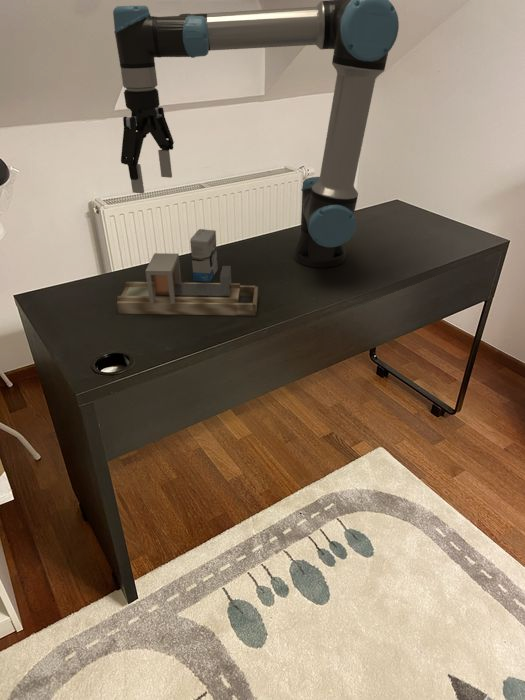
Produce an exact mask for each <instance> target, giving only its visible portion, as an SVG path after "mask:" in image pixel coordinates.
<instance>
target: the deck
mask: <svg viewBox="0 0 525 700" xmlns="http://www.w3.org/2000/svg"><path fill="white" fill-rule="evenodd" d="M124 284H125V287H124V289H123V291H122V293H121V295H117V297H116V299H117V302H116V305H117V312H118V314H123V315H124V314H125V315H126V314H130V315H140V314H141V315H179V316H180V315H186V316H188V315H190V316H197V315H198V316H245V317H247V316H248V317H249V316H250V317H251V316H252V317H253V316H254V317H255V316H257V311H258V310H257V308H258V300H259V286H258V285H241V283H239V282H238V283H237V282H236V283H235V282H231V284H232V289H231V294H230V298H226V297H175V304H171V303H170V297H161V296H155V294H156V293H155V286H154V281H152V285H153V293H154V300H155V302H154V303H150V300H149V293H148V286H147V281H125V283H124ZM175 284H220V282H181V283H178V282H175Z"/></svg>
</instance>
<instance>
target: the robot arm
mask: <svg viewBox="0 0 525 700" xmlns="http://www.w3.org/2000/svg"><path fill="white" fill-rule="evenodd" d="M149 10H150V9H149V7H148V6H146V5H119V6H116V7H114V9H113V11H112V12H113V13H112V14H113V27H114V34H115V42H116V49H117V54H118V60H119V67H120V71H121V72H120V73H121V81H122V87H123V88H125V90H124V92H123V94H124V96H123V97H124V100H125V101H124V102H125V107H126V108H127V109H128V110H130V112H131V116H123V117H122V121H123V123H122V124H123V133H122V146H121V154H120V162H121V164H123V165H127V167H128V172H129V173H128V174H129V179H130V182H131V183H130V184H131V190H132V193H134V194H144V193H145V187H144V181H143V173H142V166H141V164H140V163H139V160H140V157H141V156H140V155H141V153H142V147H143V142H144V140H145V138H146V137H147V135H149V134H150V135H151V137H152V138H153V139H154V141H155V143H156V144H157V146H158V147H159V149H158V150H157V151H158V152H157V153H158V161H159V167H160V176H161V177H162V178H170V179H171V178H172V177H173V172H172V164H171V155H170V151H171V150H174V143H175V141H174V139H173V136H172V134H171V131H170V128H169V124H168V123H167V120H166V118H165V117H166V116H165V112H164V111H165V110H164V108H163V107H160V104H161V103H160V95H159V90H158V89H157V88H156V87H157V86H158V78H157V77H158V76H157V70H156V62H155V58H199V57H206V56H207V55H209V52H210V51H226V50H227V51H228V50H249V49H262V48H263V49H265V48H280V47H283V48H284V47H299V46H300V47H301V46H303V47H304V46H316V47H317V48H318V49H319V50H333V56H332V61H331V65H332V66H333V68H334V69H335V70H336V79H335V83H334V84H335V86H334V90H333V97H332V102H331V103H332V104H331V110H330V116H329V119H328V120H329V121H328V127H327V133H326V138H325V145H324V149H323V150H324V151H323V156H322V162H321V168H320V174H319V176H312V177H307V178H305V179H304V180H302V188H301V191H302V192H301V212H300V213H301V215H300V216H301V217H300V232H299V235H298V237H297V240H296V243H295V246H294V248H293V258H294V260H295V261H296V262H297V263H299V264H301V265H302V266H307V267H311V268H320V269H321V268H331V267H336V266H339V265H341V264H343V263H344V262H345V260H346V248H345V243H348V241H350V240H351V239H352V237H353V236H354V234H355V231H356V226H357V220H356V216H355V211H356V206H357V202H358V196H359V192H358V191H357V189H356V188H355V182H356V181H355V180H356V177H357V171H358V166H359V162H360V156H361V151H362V146H363V143H364V137H365V133H366V132H365V131H366V126H367V123H368V117H369V113H370V108H371V103H372V98H373V93H374V87H375V83H376V79H377V78H378V77H379V76H380V75H381V74H382V73H384V72H385V70H386V65H387V60H388V56H389V52H390V51H391V50H392V48H393V46H394V45H395V42H396V41H397V38H398V35H399V25H400V23H399V16H398V12H397V10H396V8H395V6H394V5H393V3H392V2H391V1H390V0H320V1H319V2H318V4H317V5H316V6H307V7H306V6H305V7H304V6H303V7H292V8H291V7H289V8H288V7H286V8H271V9H269V8H268V9H255V10H238V11H237V10H236V11H222V12H221V11H220V12H207V13H181V14H179V15H171V16H154V15H151V13H150V11H149Z"/></svg>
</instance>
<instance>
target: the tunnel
mask: <svg viewBox="0 0 525 700" xmlns="http://www.w3.org/2000/svg"><path fill="white" fill-rule="evenodd" d="M173 270H174V274H175V282H178V283H182V275H181V264H180V254H179V253H164V252H163V253H161V252H160V253H154V254H153V256H152V257H151V259H150V261H149V263H148V265H147V267H146V269H145V270H144V271H145V278H146V282H147V286H148V293H149V300H150V303H154V302H155V300H154V293H153V285H152V282H153V281H152V280H153V277H152V276H153V275H167V277H168V286H169V294H170V303H171V304H175V295H174V286H173V277H172V273H173Z"/></svg>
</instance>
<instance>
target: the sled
mask: <svg viewBox="0 0 525 700" xmlns="http://www.w3.org/2000/svg"><path fill="white" fill-rule="evenodd" d="M219 275H220V276H219V281H220V282H219V283H220V284H175V274H174V270H173V273H172V277H173V286H174V295H175V297H226V298H230V294H231V289H232V284H231V283H232V267H231V265H222V268H221V271H220V274H219ZM152 276H153V277H152V279H153V282H154V286H155V293H156V294H155V296H161V297H170V294H169V286H168V277H167V275H152Z"/></svg>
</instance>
